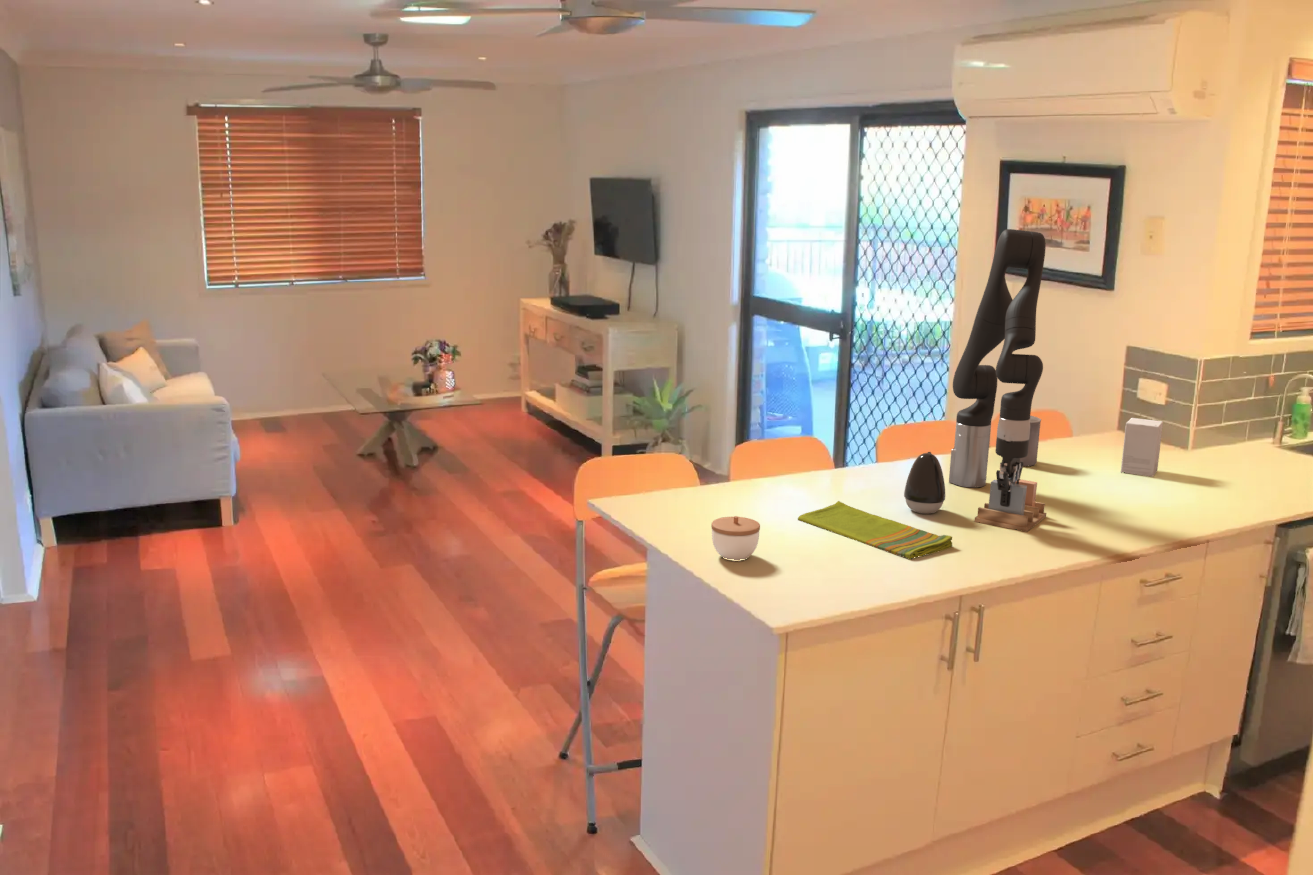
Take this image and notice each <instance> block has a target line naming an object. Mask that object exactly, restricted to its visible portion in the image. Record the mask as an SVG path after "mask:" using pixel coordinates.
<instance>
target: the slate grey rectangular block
mask: <svg viewBox="0 0 1313 875" xmlns="http://www.w3.org/2000/svg"><path fill="white" fill-rule="evenodd" d="M1004 486H1005V485H1004ZM1026 490H1027V486H1026V485H1021V484H1015V483H1012V491H1011V497H1010V506H1008V507H1005V506H1001V505H1000V500H1001V491H1000V490H998V485H997V479H993V480H992V481H991V482H990V489H989V499H988V504H989V507H988V509H992V510H997V511H1002V512H1007V513H1013V514H1018V515H1023V516H1024V508H1025V499H1026Z"/></svg>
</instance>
